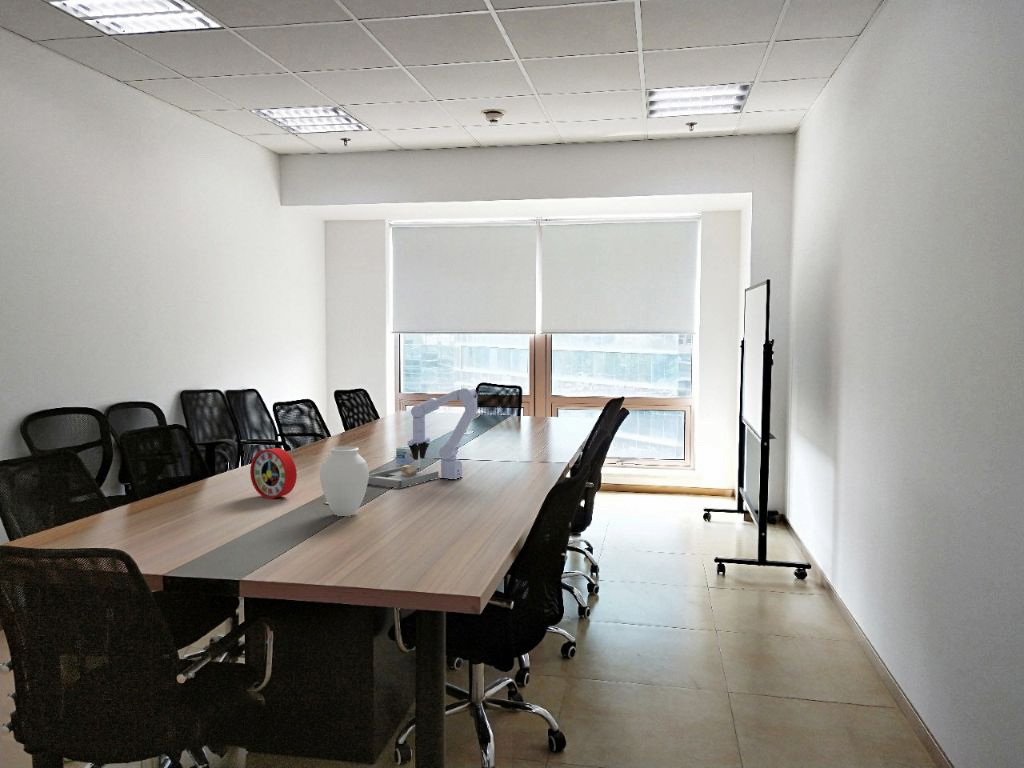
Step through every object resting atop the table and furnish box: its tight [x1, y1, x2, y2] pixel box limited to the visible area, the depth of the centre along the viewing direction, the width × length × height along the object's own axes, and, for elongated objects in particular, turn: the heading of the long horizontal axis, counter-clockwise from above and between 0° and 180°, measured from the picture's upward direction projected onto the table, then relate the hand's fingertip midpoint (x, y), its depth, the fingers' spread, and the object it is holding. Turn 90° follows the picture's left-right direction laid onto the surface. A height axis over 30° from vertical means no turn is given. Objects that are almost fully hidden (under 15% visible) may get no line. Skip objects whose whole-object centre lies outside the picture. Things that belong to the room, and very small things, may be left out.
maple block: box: [401, 465, 418, 476], centre depth 357 cm, size 5×5×4 cm
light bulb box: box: [395, 445, 421, 469], centre depth 385 cm, size 11×7×11 cm, turn 73°
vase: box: [319, 445, 370, 517], centre depth 286 cm, size 18×18×25 cm
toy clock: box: [249, 447, 298, 499], centre depth 316 cm, size 20×6×20 cm, turn 62°
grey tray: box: [367, 467, 439, 489], centre depth 352 cm, size 22×28×4 cm
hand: (419, 458), depth 364 cm, fingers open, 4 cm apart
